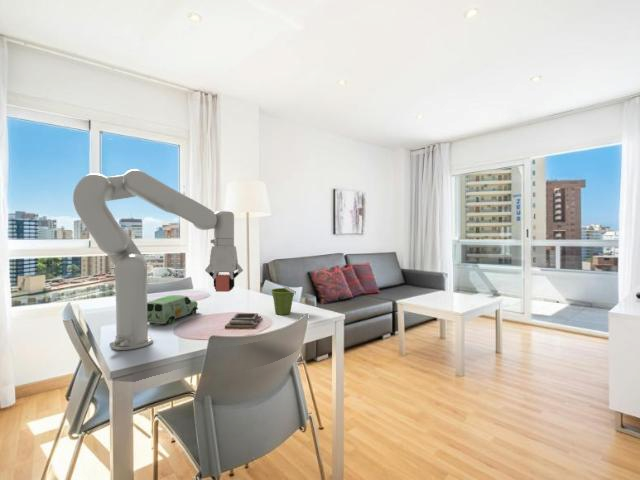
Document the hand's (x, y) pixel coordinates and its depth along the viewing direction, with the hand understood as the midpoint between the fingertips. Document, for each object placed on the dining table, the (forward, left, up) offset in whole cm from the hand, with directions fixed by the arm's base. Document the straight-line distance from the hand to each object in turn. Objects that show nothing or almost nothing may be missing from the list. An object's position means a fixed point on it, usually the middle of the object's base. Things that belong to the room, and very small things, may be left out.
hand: (224, 288), depth 131 cm
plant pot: (+29, -20, -17) cm, 39 cm away
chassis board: (+12, -5, -17) cm, 22 cm away
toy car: (+19, +29, -18) cm, 39 cm away
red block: (0, 0, -1) cm, 1 cm away
